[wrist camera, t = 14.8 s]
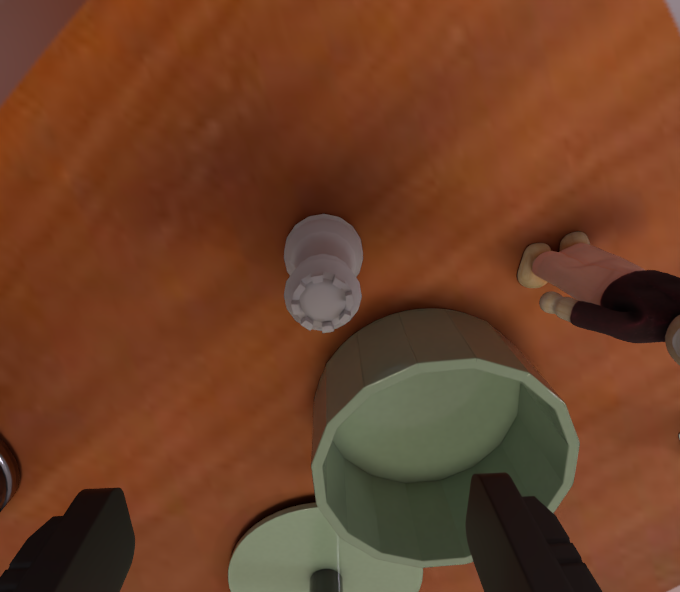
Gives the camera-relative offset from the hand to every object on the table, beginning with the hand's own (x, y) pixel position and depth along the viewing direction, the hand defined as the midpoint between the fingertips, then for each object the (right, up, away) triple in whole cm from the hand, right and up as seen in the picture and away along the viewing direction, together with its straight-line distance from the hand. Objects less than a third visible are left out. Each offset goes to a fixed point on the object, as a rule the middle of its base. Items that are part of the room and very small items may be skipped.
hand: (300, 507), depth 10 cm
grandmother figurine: (+14, +7, +15) cm, 22 cm away
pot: (+6, -2, +19) cm, 20 cm away
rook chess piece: (0, +8, +15) cm, 17 cm away
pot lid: (0, -17, +24) cm, 29 cm away
